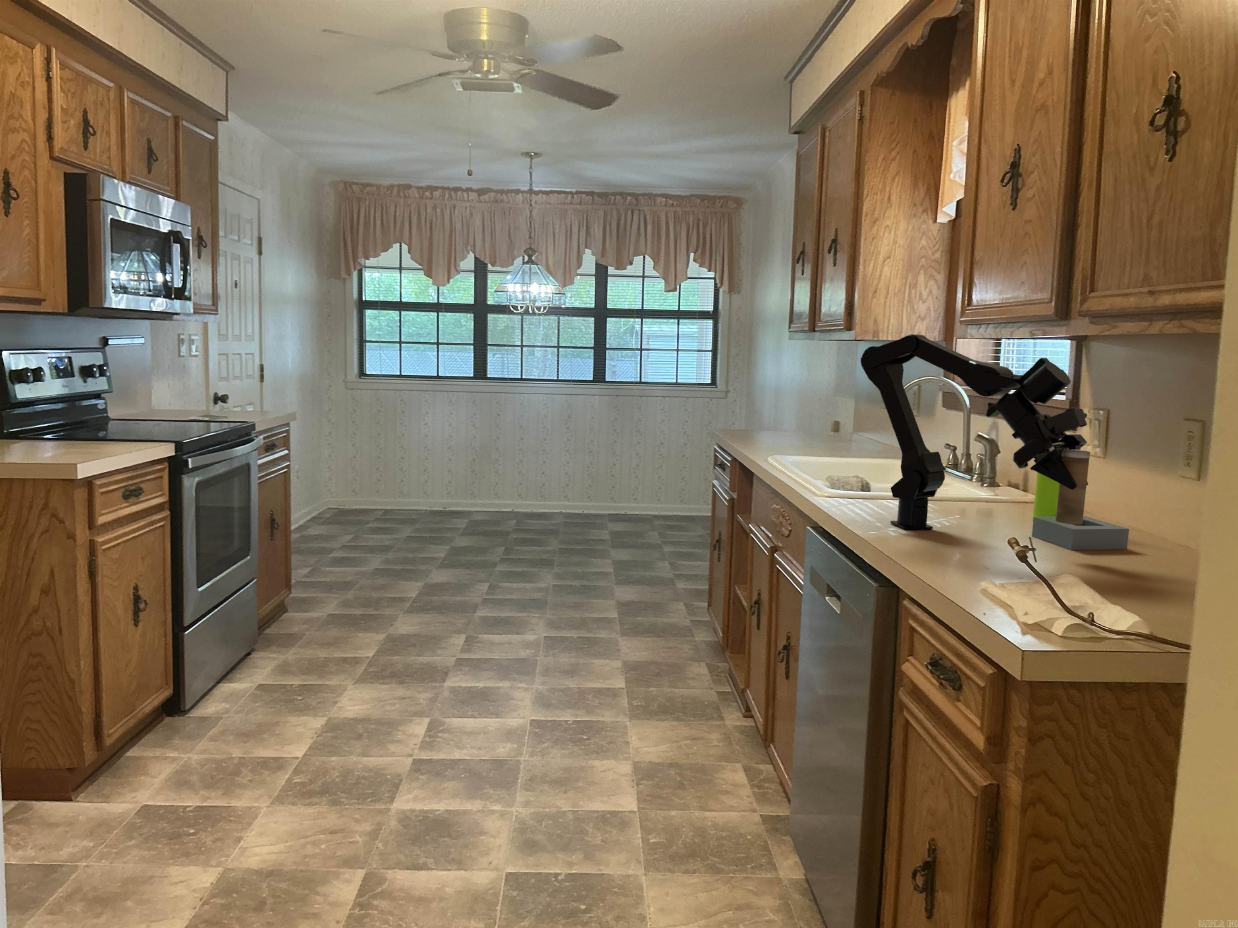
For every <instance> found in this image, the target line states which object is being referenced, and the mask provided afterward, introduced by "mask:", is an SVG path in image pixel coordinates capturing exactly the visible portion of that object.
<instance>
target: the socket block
mask: <svg viewBox="0 0 1238 928" xmlns="http://www.w3.org/2000/svg"><path fill="white" fill-rule="evenodd" d="M1129 534H1130V528H1127V527H1124V526H1121V525H1117V524H1113V523H1110V522H1108V521H1107V522H1106V521H1103V520H1100V519H1096V518H1093V517H1090V516H1083V523H1082V524H1065V523H1060V522H1057V521H1056V517H1034V518H1033V517H1032V531H1031V537H1033V538H1036V539H1038V540H1041V541H1044V542H1047V543H1050V544H1053V545H1056V546H1059V547H1062V548H1065V549H1067V550H1070V551H1087V550H1088V551H1090V550H1091V551H1093V550H1097V551H1102V550H1103V551H1104V550H1105V551H1107V550H1109V551H1110V550H1127V549H1128V542H1129V536H1130V535H1129Z"/></svg>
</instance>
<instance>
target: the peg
mask: <svg viewBox="0 0 1238 928" xmlns="http://www.w3.org/2000/svg"><path fill="white" fill-rule="evenodd" d="M1090 459H1091V451H1088V450H1082V449H1080V450H1071V449H1064V450H1062V461H1063V463H1064V464H1065V466H1066V468H1067V469H1068V471H1069V472H1070V474H1071V476H1072V477H1073V479H1074V481H1075V482H1076V484H1077V487H1076V488H1075V489H1074V490H1071V489H1069V488H1068V487H1066V486H1064V485H1062V484H1060V483H1059V493H1058V502H1057V512H1056V521H1057V522H1060V523H1065V524H1082V523H1083V517H1084V512H1085V511H1084V510H1085V504H1086V494H1087V486H1088V485H1087V482H1088V475H1089V465H1090ZM1086 485H1087V486H1086Z"/></svg>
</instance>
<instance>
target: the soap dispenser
mask: <svg viewBox="0 0 1238 928" xmlns="http://www.w3.org/2000/svg"><path fill="white" fill-rule="evenodd" d="M1059 440H1060V439H1059ZM1035 483H1036V484H1035V492H1034V502H1033V503H1034V504H1033V515H1032V519H1033V518H1034V517H1056V512H1057V502H1058V493H1059V483H1058V482H1056V481H1054V480H1052V479H1050V478H1048V477H1046V476H1044V475H1042V474H1040V473H1038V472H1036V482H1035Z"/></svg>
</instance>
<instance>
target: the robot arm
mask: <svg viewBox="0 0 1238 928" xmlns="http://www.w3.org/2000/svg"><path fill="white" fill-rule="evenodd" d="M916 357H917V358H919V359H921V360H922V361H925V362H926V363H929V364H931V365H933V366H934V367H937V368H939V369H942V370H943V371H945V372H948V373H950V374H952V375H953V376H956V377H958V378H959V379H960V380H962V382H963V383H964V384H965V385H966V386H967V387H968V388H970V390H972V391H973V392H975V393H976V394H977V395H979V396H980V397H984V398H986V397H988V398H990V397H1000V398H999V399H998V400H997V401H995V402H994V401H993V402H988V403H987V410H986V414H985V416H986V417H987V418H991V417H998V416H999V415H1000V416H1001V417H1002V419H1003V420H1004V421H1005V423H1006V424H1007V425H1008V426H1009V428H1010V429H1011V430H1012V431H1013V433H1012V434H1011V436H1012V437H1013V438H1014V440H1016V439H1017V440H1018V439H1019V440H1020V441H1021V442H1022V443H1023V445H1022V446H1021V447H1020V448H1019V449H1017V450H1016V451H1015V452H1014V453H1013V457H1012V461H1013V463H1014V464H1015V465H1016V466H1017V468H1018V469H1026V468H1028V466H1029V462H1030V461H1032V460H1033V462H1034V464H1033V465H1032V466H1031V467H1029V469H1030V471H1034V472H1036V473H1037V472H1038V473H1040V474H1042V475H1044V476H1046V477H1048V478H1050V479H1052V480H1054V481H1056V482H1058V483H1060V484H1062V485H1064V486H1066V487H1068V488H1069V489H1071V490H1074V489H1075V488H1076V487H1077V484H1076V482H1075V481H1074V479H1073V477H1072V476H1071V474H1070V472H1069V471H1068V469H1067V468H1066V466H1065V464H1064V463H1063V461H1062V450H1064V449H1071V450H1082V448H1083V447H1084V446H1085V445H1086V444H1087V443H1088V441H1087V440H1086V439H1085V438H1084V436H1082V434H1078V433H1070V434H1067V433H1066V432H1068V431H1071V430H1074V429H1077V428H1083V427H1087V426H1088V423H1087V420H1086V418H1088V414H1087V413H1085V411H1084V409H1082V408H1078V407H1077V406H1072V407H1071V408H1066V409H1065V410H1064V411H1063V412H1061V413H1058V414H1055V415H1052V416H1051V415H1050V414H1047V413H1046V414H1045V413H1044V414H1042V413H1041V411H1040V410H1039V409H1038V408H1037V407H1036V405H1038V404H1039V403H1041V404H1043V405H1046V404H1047V403H1048V402H1050V401H1051V400H1052V399H1053V398H1055V397H1056V396H1057V395H1058V394H1059V393H1061V392H1062V391H1063V390H1064V389H1065V388H1067V387H1068V386H1069V385H1071V379H1070V376H1069V375H1068V374H1067V373H1066V372H1065V370H1064V369H1061V368H1060V367H1059V366H1058V365H1056V364H1055V363H1053V362H1051V361H1050V359H1048V358H1047V357H1040V358H1039V359H1038V360H1037V361H1036V362H1035V363H1034V364H1033V366H1032V367H1030V368H1029V369H1028V370H1027V371H1026V372H1025V373H1023V374H1020V375H1019V374H1014V372H1013V371H1012V369H1010V368H1008V367H1006V366H1002V365H999V364H994V363H990V362H986V361H982V360H981V361H980V360H977V359H976V360H975V359H973V358H970V357H969V356H966V355H964V354H961V353H960V352H958V351H955V350H953V349H951V348H948V347H947V346H944V345H942V344H940V343H938V342H936V341H933V340H932V339H929V338H927V337H926V336H925V335H924V334H923V335H922V334H916V333H915V334H912V333H911V334H907V335H905V336H903V337H901V338H900V339H895V340H893V341H891V342H887V343H884V344H882V345H879V346H877V345H876V346H875V345H872V346H869V347H867V348H866V349H865V350H864V351H863V353H862V355H861V357H860V366H861V368H862V370H863V371H864V373H865V375H866V377H867V378H868V380H869V381H870V382H871V383H872V384H873V385H874V387H875V388H877V389H878V391H879V393H880V397H881V398H882V399H881V400H882V401H883V403H884V407H885V410H886V412H887V414H888V416H887V417H888V418H889V421H890V424H891V426H892V429H893V432H894V436H895V438H896V440H897V443H898V445H899V448H900V449H899V450H900V452H901V461H900V471H901V478H900V479H899V480H898V481H896V482H895V483H894V484H893V485H892V486H891V487H890V492H891V495H892V498H894V499H898V503H897V504H898V506H897V519H896V520H890V524H892V525H894V526H896V527H898V528H901V529H904V530H933V529H934V527H933V525H930V524H927V522H928V514H929V513H928V512H929V498H934V497H935V496H936V494H937V491H938V489H940V488H941V487H942V486H943V484H944V481H945V480H946V474H945V471H947V468H946V467H945V466H944V464H943V462H942V456H941V454H940V452H939V451H930V450H929V449H928V448H927V446H926V444H925V441H924V439H923V437H922V433H921V431H920V428H919V425H918V423H917V419H916V416H915V414H914V412H913V409H912V407H911V403H910V401H909V398H908V396H907V393H906V391H905V388H904V387H905V386H904V383H903V379H904V373H905V372H904V365H905V364H906V363H908V362H911V361H912V360H913V359H914V358H916ZM1013 390H1014V391H1013ZM1012 391H1013V392H1012ZM1010 392H1011V393H1010ZM1035 404H1036V405H1035ZM1059 439H1060V440H1059ZM1088 485H1089V481H1087V485H1086V487H1087V486H1088Z"/></svg>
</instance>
